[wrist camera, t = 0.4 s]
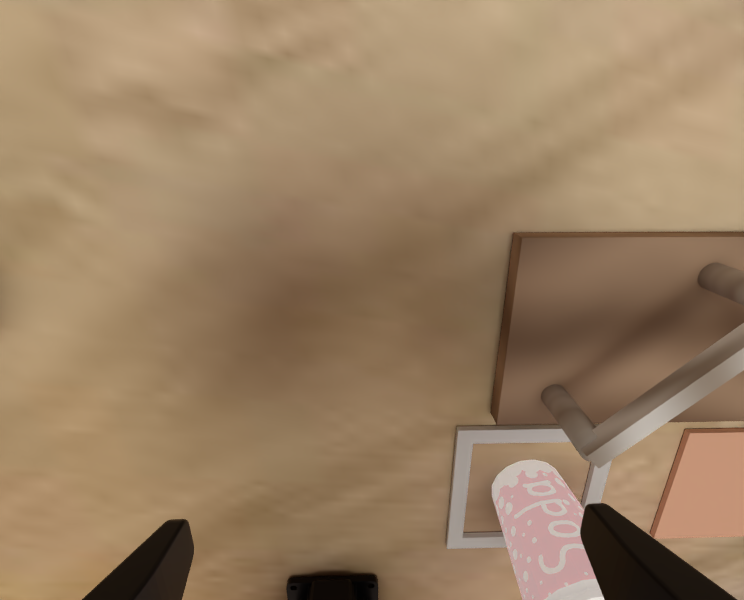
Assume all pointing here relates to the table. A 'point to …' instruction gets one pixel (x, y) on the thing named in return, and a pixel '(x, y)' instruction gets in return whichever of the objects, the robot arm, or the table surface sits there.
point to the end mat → (704, 487)
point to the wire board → (621, 334)
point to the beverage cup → (543, 533)
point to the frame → (462, 471)
